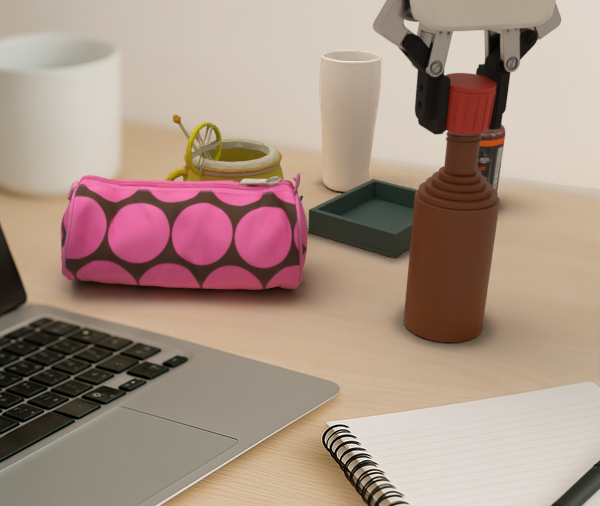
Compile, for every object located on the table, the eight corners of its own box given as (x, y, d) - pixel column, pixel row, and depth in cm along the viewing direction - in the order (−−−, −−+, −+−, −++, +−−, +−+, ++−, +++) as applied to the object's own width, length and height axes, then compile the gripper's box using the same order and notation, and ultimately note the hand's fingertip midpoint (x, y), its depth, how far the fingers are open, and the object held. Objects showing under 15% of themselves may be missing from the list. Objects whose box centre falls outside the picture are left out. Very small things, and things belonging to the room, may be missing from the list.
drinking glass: (379, 180, 99) (388, 52, 92) (366, 198, 94) (374, 63, 87) (325, 173, 101) (329, 47, 94) (309, 191, 95) (312, 58, 88)
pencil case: (303, 257, 79) (305, 156, 75) (307, 305, 71) (310, 193, 66) (77, 257, 78) (65, 155, 74) (54, 305, 70) (39, 192, 65)
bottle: (423, 298, 72) (442, 116, 65) (493, 318, 69) (521, 129, 62) (390, 327, 67) (406, 134, 60) (464, 350, 64) (490, 149, 57)
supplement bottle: (439, 210, 91) (449, 107, 86) (444, 191, 96) (454, 94, 91) (494, 215, 90) (508, 112, 84) (496, 197, 95) (509, 98, 90)
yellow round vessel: (267, 200, 93) (267, 93, 87) (300, 237, 84) (302, 120, 78) (153, 213, 89) (145, 101, 83) (175, 253, 80) (168, 130, 74)
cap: (470, 139, 57) (478, 93, 55) (424, 124, 59) (430, 79, 57) (498, 126, 59) (507, 82, 57) (453, 112, 61) (460, 69, 59)
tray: (371, 199, 93) (373, 178, 92) (453, 221, 88) (455, 198, 87) (308, 232, 85) (308, 209, 84) (393, 258, 79) (395, 234, 78)
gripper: (388, -172, 45) (370, 151, 54) (641, -165, 50) (588, 132, 59) (341, -168, 52) (332, 121, 60) (569, -161, 56) (531, 106, 65)
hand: (458, 124), depth 59 cm, fingers closed on cap, 3 cm apart
